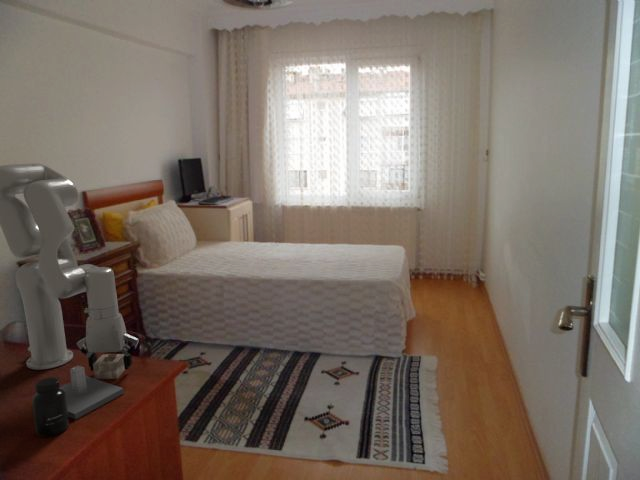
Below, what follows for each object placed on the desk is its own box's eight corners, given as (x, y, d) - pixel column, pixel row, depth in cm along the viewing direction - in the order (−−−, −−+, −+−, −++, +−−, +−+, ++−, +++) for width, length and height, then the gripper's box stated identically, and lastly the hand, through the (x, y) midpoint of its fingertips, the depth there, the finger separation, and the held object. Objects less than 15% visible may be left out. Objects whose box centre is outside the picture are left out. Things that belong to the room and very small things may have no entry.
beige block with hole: (94, 379, 138) (92, 363, 137) (104, 368, 144) (102, 353, 143) (117, 378, 138) (115, 363, 137) (126, 368, 144) (124, 353, 143)
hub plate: (36, 403, 125) (35, 398, 125) (85, 380, 137) (84, 375, 137) (75, 419, 118) (74, 414, 117) (123, 393, 130) (123, 388, 129)
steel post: (73, 394, 127) (69, 369, 125) (81, 390, 129) (78, 365, 127) (79, 396, 126) (75, 371, 124) (87, 392, 128) (84, 367, 126)
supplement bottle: (55, 439, 110) (48, 390, 108) (29, 436, 111) (22, 388, 109) (76, 422, 117) (70, 376, 114) (51, 419, 118) (44, 373, 116)
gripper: (66, 317, 134) (74, 375, 137) (129, 314, 134) (136, 372, 137) (79, 308, 141) (87, 363, 144) (139, 305, 141) (145, 361, 144)
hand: (111, 368), depth 141 cm, fingers open, 9 cm apart
